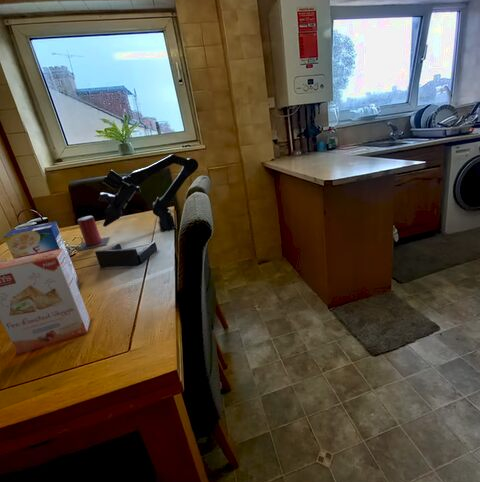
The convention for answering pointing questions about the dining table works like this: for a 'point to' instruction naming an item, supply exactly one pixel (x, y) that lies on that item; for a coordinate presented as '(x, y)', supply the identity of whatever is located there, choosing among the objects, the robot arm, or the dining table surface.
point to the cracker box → (40, 301)
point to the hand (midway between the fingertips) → (105, 223)
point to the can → (89, 231)
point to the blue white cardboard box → (37, 242)
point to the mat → (103, 243)
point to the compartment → (124, 256)
